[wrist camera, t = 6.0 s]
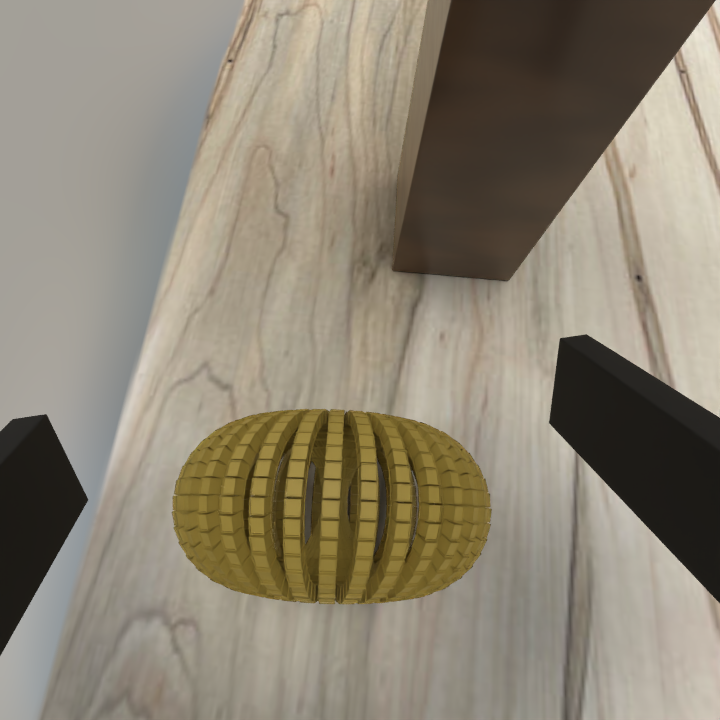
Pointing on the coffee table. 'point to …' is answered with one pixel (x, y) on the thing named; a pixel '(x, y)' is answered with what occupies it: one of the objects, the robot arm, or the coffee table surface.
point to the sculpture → (331, 507)
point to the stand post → (518, 119)
